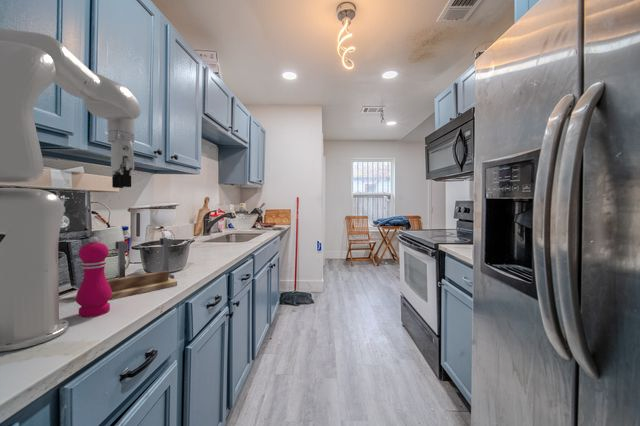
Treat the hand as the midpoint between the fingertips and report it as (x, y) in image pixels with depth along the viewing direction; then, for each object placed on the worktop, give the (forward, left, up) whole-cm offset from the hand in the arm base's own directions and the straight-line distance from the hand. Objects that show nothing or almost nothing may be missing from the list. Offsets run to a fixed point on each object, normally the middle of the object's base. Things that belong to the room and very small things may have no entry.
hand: (121, 187), depth 95 cm
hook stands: (+6, -4, -34) cm, 35 cm away
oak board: (+1, -13, -34) cm, 37 cm away
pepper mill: (-12, -26, -34) cm, 45 cm away
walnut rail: (+1, -13, -33) cm, 35 cm away
